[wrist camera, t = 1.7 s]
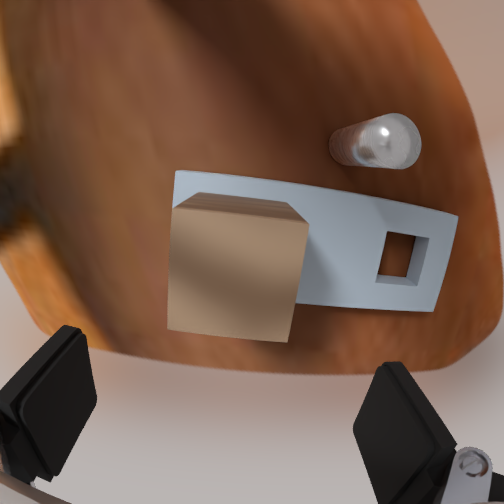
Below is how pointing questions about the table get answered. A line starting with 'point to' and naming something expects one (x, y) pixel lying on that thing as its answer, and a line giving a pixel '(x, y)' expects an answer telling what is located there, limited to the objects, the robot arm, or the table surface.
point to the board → (348, 241)
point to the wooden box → (235, 266)
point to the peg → (377, 143)
